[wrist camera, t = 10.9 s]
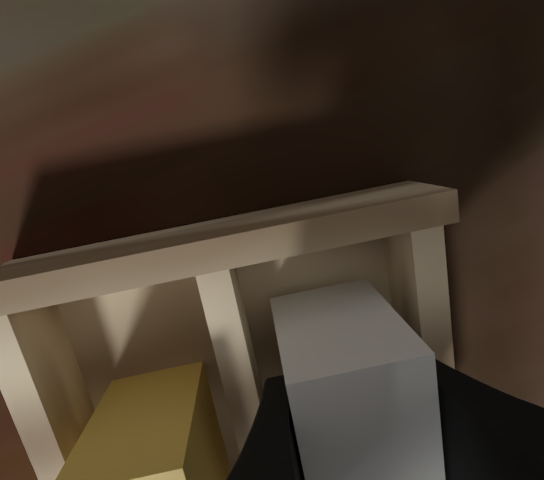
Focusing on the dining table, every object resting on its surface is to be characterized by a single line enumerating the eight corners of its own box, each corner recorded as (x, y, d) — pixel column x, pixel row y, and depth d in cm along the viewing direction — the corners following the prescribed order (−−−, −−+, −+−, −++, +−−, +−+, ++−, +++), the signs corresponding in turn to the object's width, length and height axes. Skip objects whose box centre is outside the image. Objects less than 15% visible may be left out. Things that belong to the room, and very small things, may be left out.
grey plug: (387, 447, 15) (454, 586, 11) (303, 466, 15) (333, 615, 10) (365, 278, 13) (434, 353, 9) (269, 298, 13) (285, 385, 9)
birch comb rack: (433, 424, 17) (477, 488, 14) (100, 497, 16) (65, 581, 13) (408, 180, 14) (457, 189, 11) (11, 260, 14) (-60, 293, 11)
